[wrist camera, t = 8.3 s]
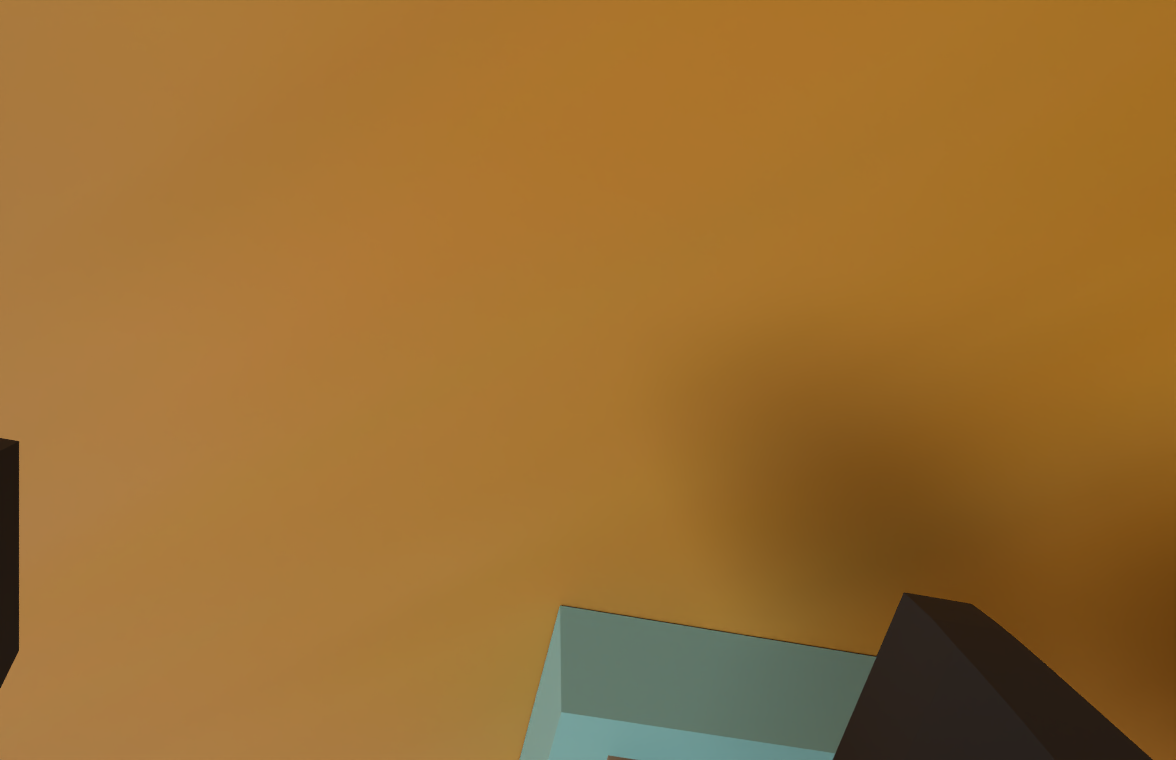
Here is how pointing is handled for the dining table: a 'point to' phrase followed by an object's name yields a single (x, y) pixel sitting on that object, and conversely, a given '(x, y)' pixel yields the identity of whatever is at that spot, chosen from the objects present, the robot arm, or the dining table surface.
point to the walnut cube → (618, 758)
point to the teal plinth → (687, 693)
